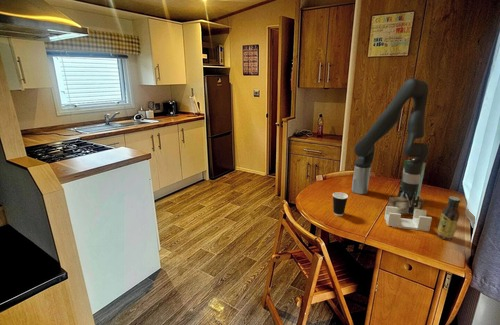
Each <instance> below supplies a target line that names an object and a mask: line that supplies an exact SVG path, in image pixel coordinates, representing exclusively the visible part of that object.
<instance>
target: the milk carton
mask: <svg viewBox="0 0 500 325" xmlns="http://www.w3.org/2000/svg"><path fill="white" fill-rule="evenodd" d="M414 159H415V158H412V160H414ZM407 161H410V159H404V163H403V170H402V175H401V181H400V186H399V188H400V187H401V186H402V180H403V175H404V172H405V165H406V162H407ZM426 165H427V163H426V162H424V163H423V165H422V167H421V173H420V181H419V187H418V191H416V192H415V196H419V197H420V195H421V189H422V184H423V181H424V180H423V179H424V175H425V169H426ZM400 194H402V193H400Z"/></svg>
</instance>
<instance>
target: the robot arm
mask: <svg viewBox="0 0 500 325" xmlns="http://www.w3.org/2000/svg"><path fill="white" fill-rule="evenodd" d="M428 95H429V84H428V82H426V81H425V80H421V79H418V78H415V77H414V78H412V77H411V78H409V79H407V80H406V81H405V82H404V83H403V84H402V85H401V87H400V88H399V89H398V91H397V92H396V94H395V96H394V97H393V98H392V100H391V102H390V103H389V104H388V105H387V107H386V108H385V110H383V112H382V113H380V115H379V117H378V118H377V119H376V120H375V122H374V123H373V124H372V126H371V127H370V128H369V130H368V131H367V133H366V134H365V135H364V136H363V137H362V138H361V139H360V140H358V142H357V143H356V144H355V146H354V147H353V148H354V150H353V151H354V154H355V156H356V157H357V159H356V160H355V161H354V170H353V176H352V183H351V192H352V193H354V194H357V195H366V194H368V191H369V190H368V189H369V182H370V174H371V167H372V163H373V161H374V157H375V149H376V148H375V144H376V143H378V141H379V140H380V139H382V138H383V137H385V135H387V134H388V133H389V132H390V131H391V130H392V129H394V126H396V124H398V122H399V119H400V117H401V111H402V109H403V107H404V106H405V104H406V103H407V102H408V100H409V99H412V101H413V109H412V112H411V114H410V116H409V118H408V122H407V138H406V141H405V142H406V143H405V145H404V148H403V152H404V156H406V157H408V158H413V159H414V160H413V159H411V160H410V159H409V160H410V161H407V162H406V165H405V172H404V175H403V180H402V179H401V180H402V186H401V187H400V186H399V189H398V192H397V193H398V194H397V197H404V198H406V199H407V202H408V203H409V209H408V213H413V211H414V207H418V201H419V197H420V195H419V196H415V192H416V191H418V187H419V181H420V173H421V167H422V165H423V163H425V160H426V159H427V157H428V155H429V154H430V148H429V145H428V144H427V143H425V142H415V140H419V139H422V138H424V136H425V114H426V106H427V102H428V97H429V96H428ZM400 193H402V194H400ZM410 200H412V201H410ZM411 202H412V205H411ZM415 203H416V205H415Z"/></svg>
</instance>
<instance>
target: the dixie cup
mask: <svg viewBox="0 0 500 325" xmlns="http://www.w3.org/2000/svg"><path fill="white" fill-rule="evenodd" d="M348 198H349V195H348V194H347V193H345V192H340V191H339V192H338V191H336V192H333V193H332V205H333V206H332V208H333V210H332V211H333V214H334V215H335V216H338V217H343V215H344V214H345V210H346V206H347V201H348Z"/></svg>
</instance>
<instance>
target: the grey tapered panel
mask: <svg viewBox="0 0 500 325" xmlns="http://www.w3.org/2000/svg"><path fill="white" fill-rule="evenodd" d="M410 201H412V200H410ZM424 203H425V199H423V198H422V197H421V196H419V201H418V207H414V210H415V209H420V210H424V209H423V208H424ZM411 205H412V202H411ZM415 205H416V203H415ZM387 206H392V207H397V208H398V209H397V213H398V214H401V215H414V211H413V213H408V209H409V203H408V202H407V199H406V198H404V197H399V196H391V197H389V199H388V205H387Z"/></svg>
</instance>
